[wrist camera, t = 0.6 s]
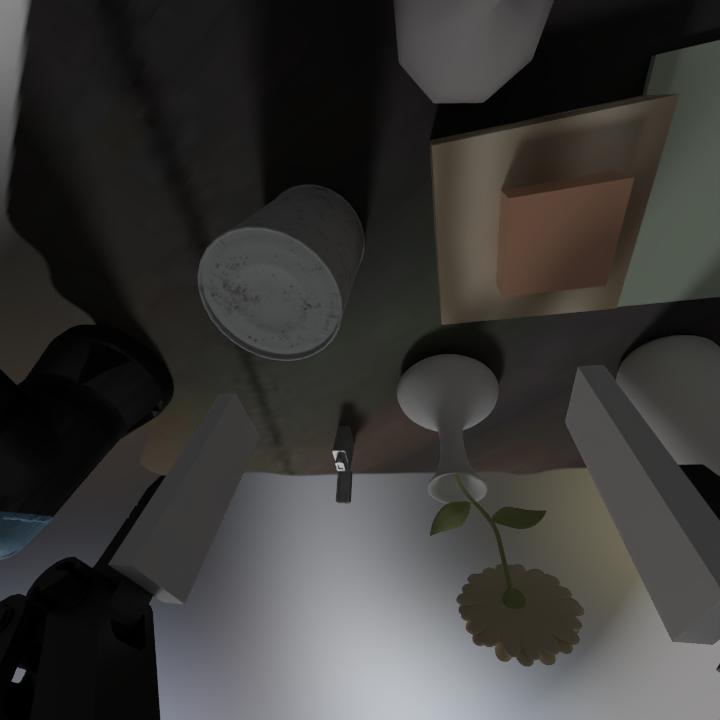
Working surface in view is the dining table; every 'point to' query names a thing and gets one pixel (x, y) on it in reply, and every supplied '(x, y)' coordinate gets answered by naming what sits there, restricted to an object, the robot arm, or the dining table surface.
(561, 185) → the terracotta tile
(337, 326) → the white cylinder
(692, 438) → the alcohol
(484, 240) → the birch board
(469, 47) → the potion bottle
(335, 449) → the lighter
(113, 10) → the dining table surface
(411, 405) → the flower in vase
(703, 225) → the rubber mat
